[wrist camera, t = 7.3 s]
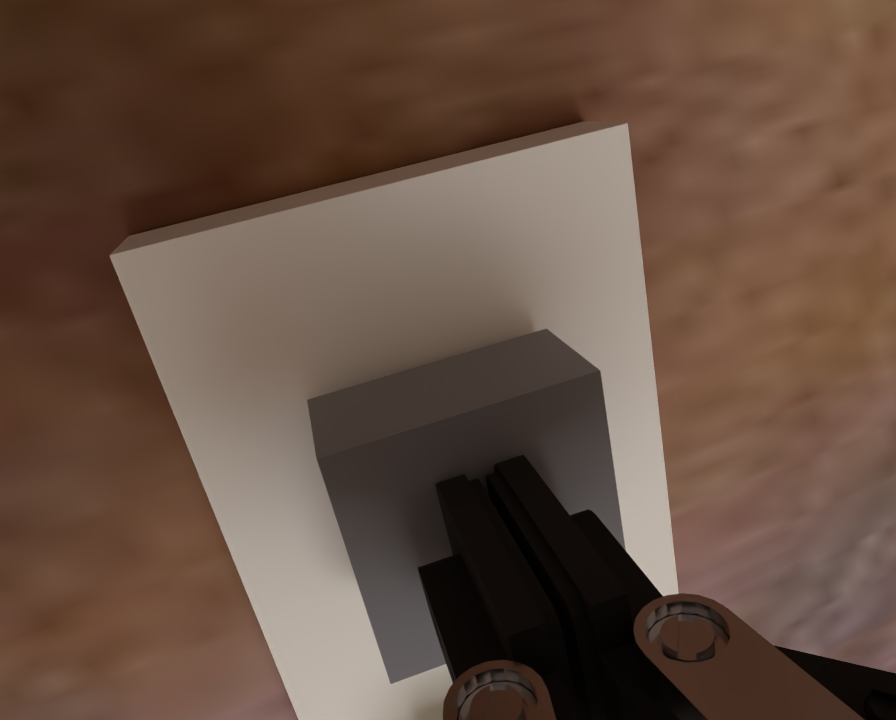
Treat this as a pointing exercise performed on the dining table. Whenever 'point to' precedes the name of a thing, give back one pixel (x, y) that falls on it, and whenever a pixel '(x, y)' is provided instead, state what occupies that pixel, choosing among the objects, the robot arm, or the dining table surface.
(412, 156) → the dining table surface
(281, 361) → the keypad base
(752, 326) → the dining table surface
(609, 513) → the charcoal key
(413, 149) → the dining table surface
